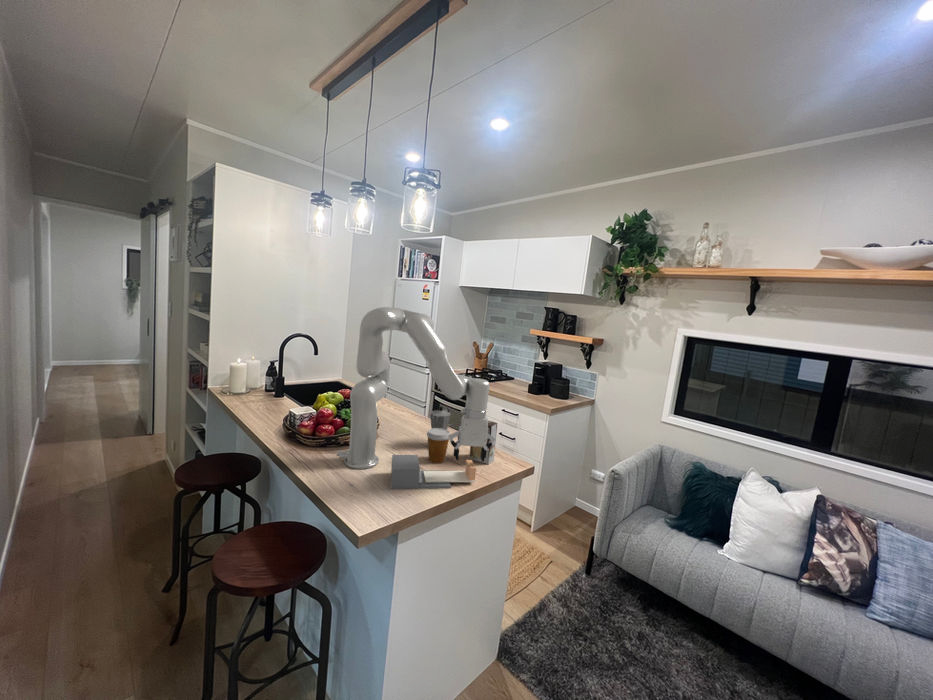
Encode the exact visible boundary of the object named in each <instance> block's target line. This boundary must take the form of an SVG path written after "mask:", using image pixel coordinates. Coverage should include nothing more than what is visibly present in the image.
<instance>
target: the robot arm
mask: <svg viewBox="0 0 933 700" xmlns="http://www.w3.org/2000/svg"><path fill="white" fill-rule="evenodd" d="M434 327H435V324H434V321H433V319H432V318H431V317H430V316H429V315H427V314H424V313H419V312H415V311H413V310H412V311H410V310H407V309H402V308H400V307H399V308H398V307H389V306H386V307H385V306H384V307H383V306H381V307H376V308H374V309H371V310H370V311H368V312H367V313H366V314H365V315H364V316H363V318H362V319H361V322H360V324H359V339H358V346H357V355H356V370H357V373H358V374H359V375H360V377H363V378H365V379H363V380H360V381H359V382H357V383H356V384H355V385H354V386H353V387H352V388H351V389H350V393H349V400H350V401H349V402H350V410H351V411H350V412H351V413H350V431H349V433H350V434H349V448H348V449H347V450H336V451H337V452H336V457H339V459H344V462H343V463H344V464H345V466H346V467H348V468H351V469H357V470H363V469H364V470H365V469H370V468H373V467H376V466H377V465H378V464H379V462H380V458H379V456H377V455H376V447H377V445H376V444H377V442H376V441H377V430H378V429H377V428H378V409H377V402H379V401H380V400H382V399H383V398H385V396H386V395H387V393H388V387H389V379H390V370H391V361H390V356H389V355H388V354H387V353H386V352H385V351H383V345H384V344H383V342H384V339H383V333H384V332H387V331H389V332H390V331H399V332H402V333H406V334H407V335H408V337H409V338H410V339H411V341H412V343H413V344H414V345H415V347H416V348H417V350H418V351H419V353H420V354H421V356H422V357H423V358H424V360H425V362H426V366H427V368H428V370H429V373H430V375H431V377H432V379H433V381H434V382H435V384H436V385H437V386H438V388H439V390H440V391H441V393H442V394H443V395H444V396H445V397H446V398H447V399H449V400H452V401H459V400H460V399H461V398H463V396H466V400H465V407H464V408H463V409H460V413H461V414H462V417H461V420H460V423H459V426H458V427H459V428H458V430H457V431H455V432H453V433H450V435H448V437H449V443H450V445H452V447H453V457H454V459H455V460H456V461H459V455H460V447H461V446H462V447H463V446H465V447H468V446H469V447H470V446H483V447H482V448H481V455H480V458H481V460H482V461H484V458H486V452H487V450H488V449H489V448H490V447H491V446H492V444H493V443H494V441H495V440H496V441H497V438H496V439H495V438H494V437H493V436H491V435H490V434H488V421H489V420H488V418H487V417H486V416H487V410H488V401H489V393H490V386H491V385H490V382H489V381H488V380H487V379H483V378H479V377H478V378H475V377H470V376H467V375H464V374H456V372H455V371H454V369H453V368H452V366H451V363H450V362H449V359H448V356H447V347H446V345H445V344H444V343H443V341H442V339H441V338H440V337H439V335H438V334H437V332H436V331H435V330H434ZM455 438H457V440H456V442H455V441H454V439H455ZM487 438H489V439H490V441H489V442H488V443H487Z"/></svg>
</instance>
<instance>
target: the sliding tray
mask: <svg viewBox="0 0 933 700" xmlns="http://www.w3.org/2000/svg"><path fill="white" fill-rule="evenodd" d="M473 461H474V460H472V459H466V461H465V470H446V471H424V477H425V482H426V483H428V482H450V483H476V471H477V468H476V466H475V464H474V462H473Z"/></svg>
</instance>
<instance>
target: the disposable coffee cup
mask: <svg viewBox="0 0 933 700" xmlns="http://www.w3.org/2000/svg"><path fill="white" fill-rule="evenodd" d="M450 434H451V432H450V430H448V429H447V430H446V429H443V428H429V429H428V431H427V432H426V436H427V449H428V461H429V462H430V463H432V464H442V463H444V462H445V459H446V454H447V450H448V447H447V446H448V445H449V443H450V440H449V437H448V435H450Z"/></svg>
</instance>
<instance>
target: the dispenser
mask: <svg viewBox="0 0 933 700" xmlns="http://www.w3.org/2000/svg"><path fill="white" fill-rule="evenodd" d="M391 456H392V458H391V470H390V473H391V474H390V484H391V488H390V489H391V490H394V489H395V490H398V489H399V490H401V489H403V490H405V489H407V490H408V489H411V490H412V489H416V490H417V489H451V487H452V485H451V482H428V483H426V482H425V477H424V471H447V470H444V469H443V470H439V469H438V470H429V469H428V470H421V468H420V461H419V457H418V454H392V455H391Z"/></svg>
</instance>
